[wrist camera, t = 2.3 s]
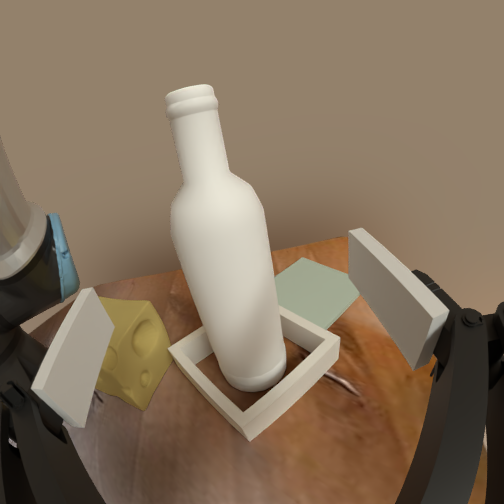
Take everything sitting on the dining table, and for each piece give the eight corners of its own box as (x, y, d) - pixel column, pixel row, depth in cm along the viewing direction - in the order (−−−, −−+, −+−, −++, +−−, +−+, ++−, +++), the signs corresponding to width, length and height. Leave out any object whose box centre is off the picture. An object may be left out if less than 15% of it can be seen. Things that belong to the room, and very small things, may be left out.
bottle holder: (178, 367, 33) (167, 348, 31) (258, 312, 40) (254, 291, 38) (249, 441, 22) (241, 427, 20) (338, 358, 30) (340, 337, 28)
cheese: (146, 413, 26) (103, 364, 22) (91, 388, 30) (51, 340, 25) (180, 353, 35) (152, 298, 30) (125, 341, 38) (96, 291, 33)
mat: (246, 299, 43) (245, 296, 43) (302, 260, 50) (302, 257, 50) (315, 340, 33) (315, 337, 33) (368, 285, 40) (368, 282, 40)
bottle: (274, 400, 26) (203, 73, 12) (212, 383, 30) (113, 110, 15) (295, 348, 33) (257, 79, 18) (239, 338, 36) (179, 99, 21)
